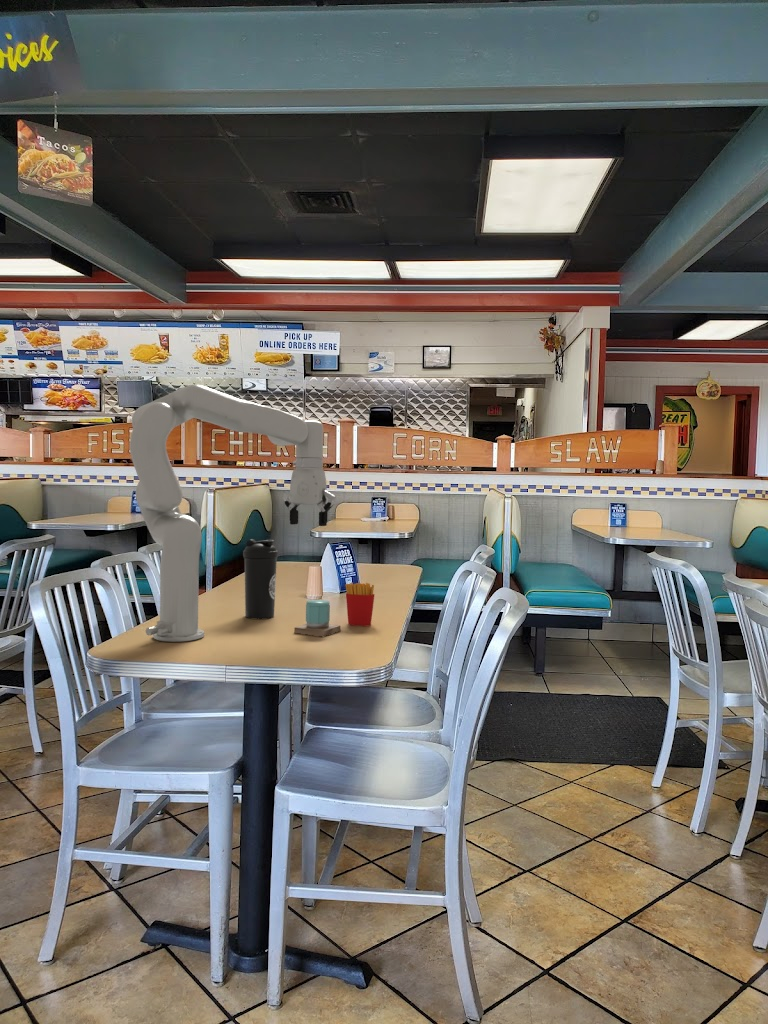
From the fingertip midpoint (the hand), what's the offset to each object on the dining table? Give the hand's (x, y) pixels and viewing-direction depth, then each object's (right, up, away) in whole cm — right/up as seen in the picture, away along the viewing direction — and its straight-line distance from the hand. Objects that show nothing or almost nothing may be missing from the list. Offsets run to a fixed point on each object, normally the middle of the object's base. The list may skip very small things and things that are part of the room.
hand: (308, 525), depth 201 cm
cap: (+4, -26, -9) cm, 28 cm away
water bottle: (-16, -28, +11) cm, 34 cm away
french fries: (+14, -29, +2) cm, 32 cm away
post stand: (+4, -29, -9) cm, 30 cm away
